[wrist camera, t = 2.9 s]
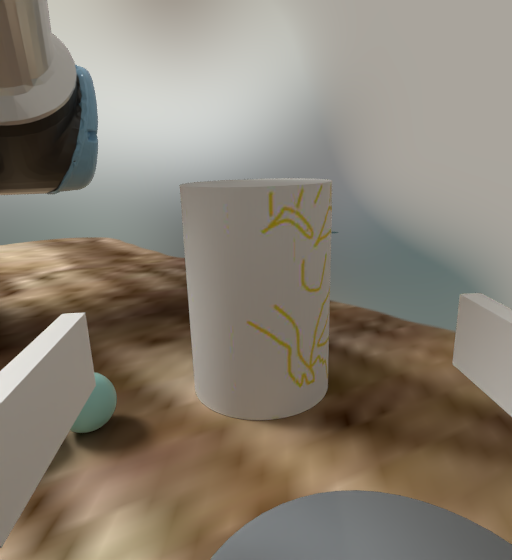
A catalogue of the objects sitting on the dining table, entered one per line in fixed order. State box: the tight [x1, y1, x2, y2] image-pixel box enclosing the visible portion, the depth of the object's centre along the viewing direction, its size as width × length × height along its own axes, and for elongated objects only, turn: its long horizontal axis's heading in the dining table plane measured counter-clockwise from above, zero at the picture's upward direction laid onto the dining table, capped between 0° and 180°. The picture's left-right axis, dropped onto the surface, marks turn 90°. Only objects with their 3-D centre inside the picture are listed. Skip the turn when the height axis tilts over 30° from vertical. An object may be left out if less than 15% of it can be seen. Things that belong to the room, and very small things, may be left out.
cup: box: [180, 179, 332, 420], centre depth 25 cm, size 8×8×12 cm
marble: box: [70, 372, 117, 433], centre depth 22 cm, size 3×3×3 cm
